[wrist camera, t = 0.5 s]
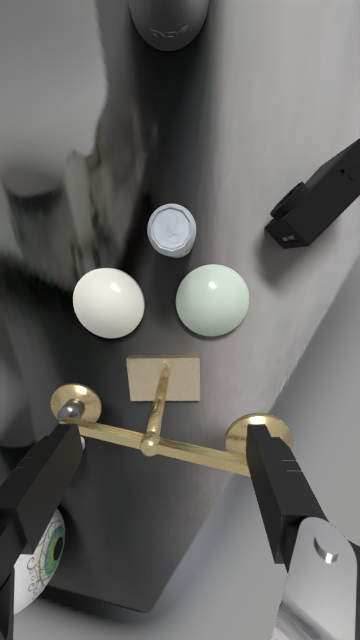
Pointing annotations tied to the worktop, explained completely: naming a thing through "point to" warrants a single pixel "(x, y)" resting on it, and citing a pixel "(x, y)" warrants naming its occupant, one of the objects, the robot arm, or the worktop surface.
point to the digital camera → (317, 200)
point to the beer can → (172, 230)
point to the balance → (159, 386)
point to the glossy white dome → (109, 302)
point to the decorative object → (39, 564)
